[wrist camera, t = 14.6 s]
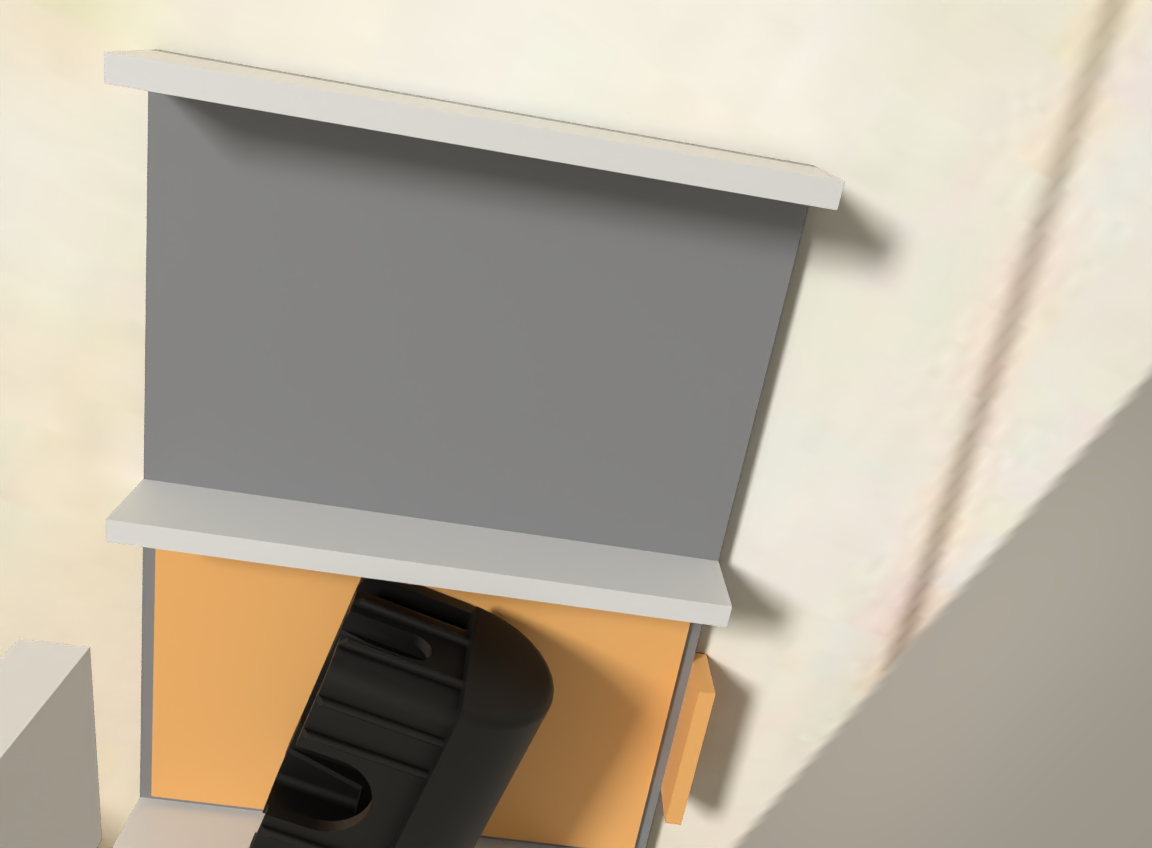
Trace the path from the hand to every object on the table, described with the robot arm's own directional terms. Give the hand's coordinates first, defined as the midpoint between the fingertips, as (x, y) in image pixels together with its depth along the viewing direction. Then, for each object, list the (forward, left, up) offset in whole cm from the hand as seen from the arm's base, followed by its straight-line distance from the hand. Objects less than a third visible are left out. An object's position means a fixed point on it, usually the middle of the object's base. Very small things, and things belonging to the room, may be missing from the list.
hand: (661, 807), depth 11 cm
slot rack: (+4, +9, -22) cm, 24 cm away
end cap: (+4, +15, -22) cm, 27 cm away
